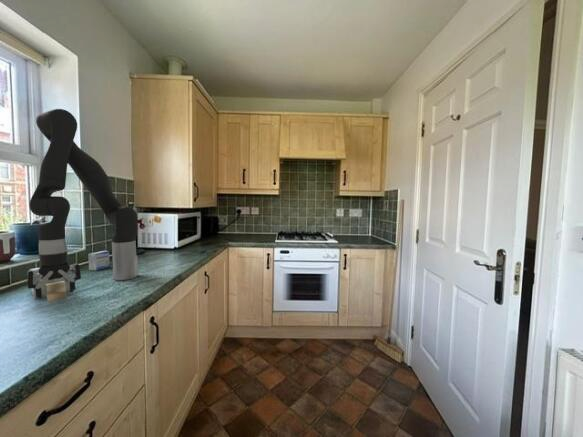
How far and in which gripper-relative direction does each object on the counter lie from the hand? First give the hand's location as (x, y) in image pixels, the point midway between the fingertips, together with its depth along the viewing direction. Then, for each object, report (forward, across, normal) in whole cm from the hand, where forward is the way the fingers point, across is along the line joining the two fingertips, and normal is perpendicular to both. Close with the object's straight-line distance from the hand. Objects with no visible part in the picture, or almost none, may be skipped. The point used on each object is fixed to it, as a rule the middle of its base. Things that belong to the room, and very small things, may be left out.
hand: (56, 294), depth 94 cm
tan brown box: (+2, 0, 0) cm, 2 cm away
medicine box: (+2, -21, -37) cm, 42 cm away
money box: (+2, 0, -12) cm, 12 cm away
